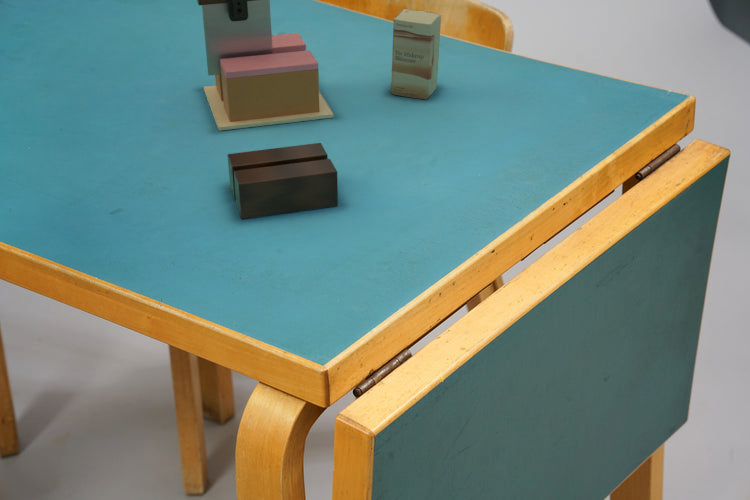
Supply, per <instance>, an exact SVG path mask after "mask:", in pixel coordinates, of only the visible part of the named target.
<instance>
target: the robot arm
mask: <svg viewBox="0 0 750 500" xmlns="http://www.w3.org/2000/svg"><path fill="white" fill-rule="evenodd" d="M227 2H228V15H229V18H230V20H231V21H244V20H247V19H248V5H247V0H227Z"/></svg>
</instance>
